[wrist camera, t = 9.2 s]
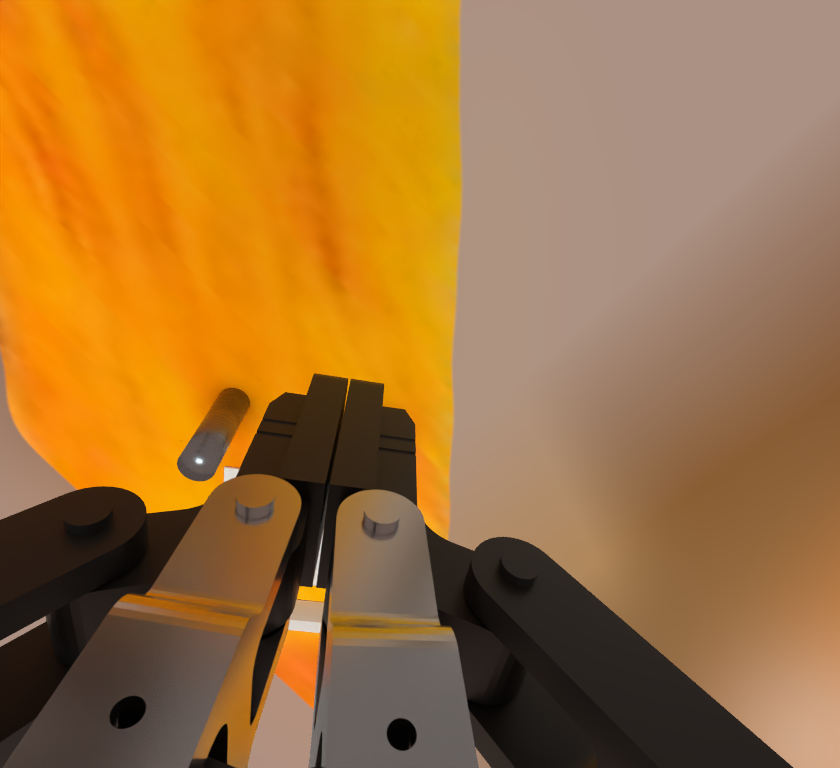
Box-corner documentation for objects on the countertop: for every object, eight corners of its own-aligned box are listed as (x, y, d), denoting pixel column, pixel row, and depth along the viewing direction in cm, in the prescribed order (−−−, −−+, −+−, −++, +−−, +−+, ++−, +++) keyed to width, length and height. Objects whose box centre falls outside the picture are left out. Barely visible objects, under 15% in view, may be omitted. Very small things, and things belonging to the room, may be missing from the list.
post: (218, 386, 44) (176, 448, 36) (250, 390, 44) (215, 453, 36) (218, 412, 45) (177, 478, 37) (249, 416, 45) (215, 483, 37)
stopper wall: (275, 597, 56) (270, 617, 54) (359, 606, 57) (357, 626, 55) (275, 607, 57) (269, 627, 54) (357, 616, 58) (356, 636, 55)
